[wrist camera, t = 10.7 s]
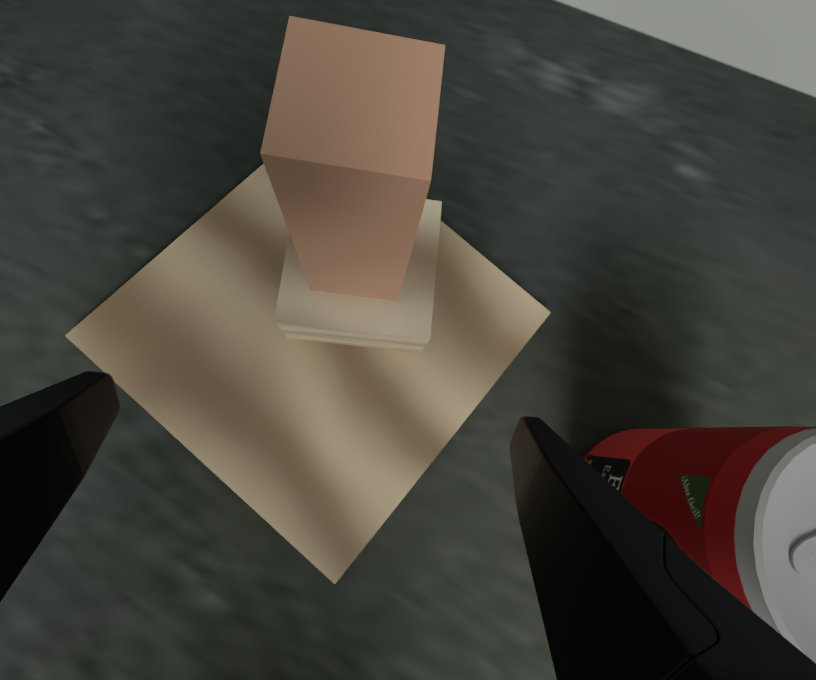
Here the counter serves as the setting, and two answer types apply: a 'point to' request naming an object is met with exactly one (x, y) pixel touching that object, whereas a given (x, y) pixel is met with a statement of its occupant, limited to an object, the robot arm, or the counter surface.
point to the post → (353, 151)
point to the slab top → (364, 314)
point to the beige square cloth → (301, 374)
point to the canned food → (731, 510)
